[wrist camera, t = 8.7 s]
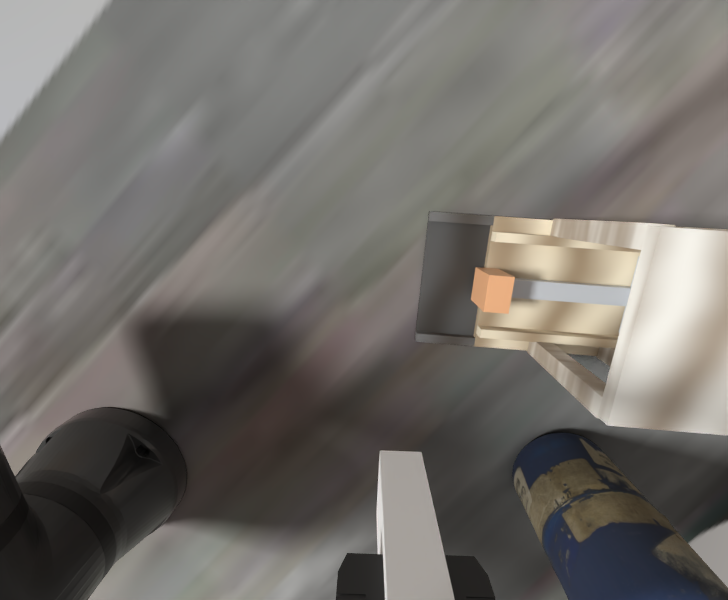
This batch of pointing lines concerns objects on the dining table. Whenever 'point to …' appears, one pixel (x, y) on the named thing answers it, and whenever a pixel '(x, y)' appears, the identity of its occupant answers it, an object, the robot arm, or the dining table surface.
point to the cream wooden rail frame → (595, 310)
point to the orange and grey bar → (540, 291)
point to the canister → (604, 527)
